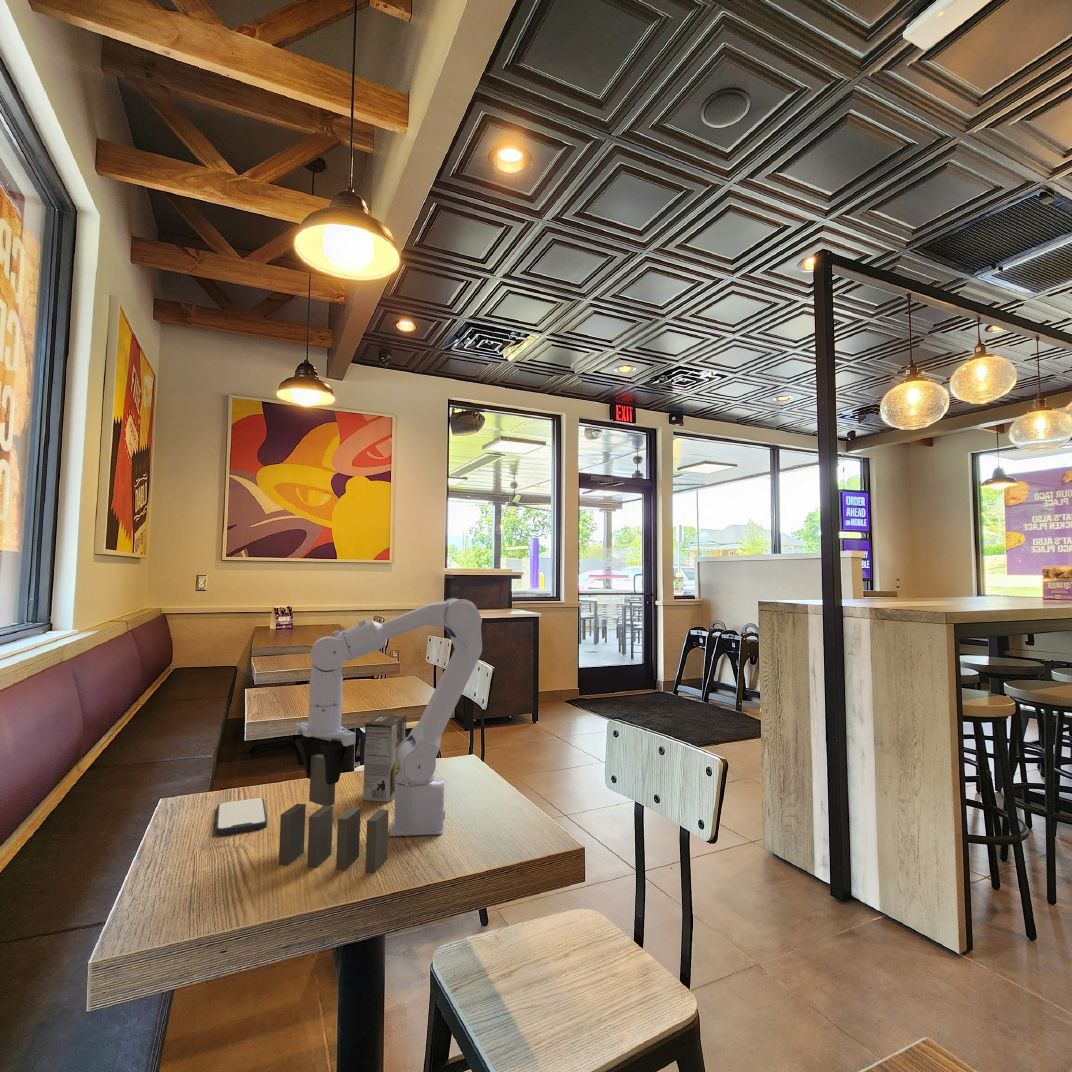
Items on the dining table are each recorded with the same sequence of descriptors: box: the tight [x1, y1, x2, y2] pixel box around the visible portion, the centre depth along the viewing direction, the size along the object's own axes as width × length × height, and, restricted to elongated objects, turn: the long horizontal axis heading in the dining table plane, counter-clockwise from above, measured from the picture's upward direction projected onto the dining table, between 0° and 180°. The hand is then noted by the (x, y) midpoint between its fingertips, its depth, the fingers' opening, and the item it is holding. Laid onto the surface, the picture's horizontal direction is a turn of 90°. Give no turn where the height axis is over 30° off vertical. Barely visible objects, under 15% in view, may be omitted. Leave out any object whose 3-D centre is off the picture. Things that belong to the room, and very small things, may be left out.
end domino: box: [308, 754, 336, 807], centre depth 108 cm, size 2×5×8 cm, turn 57°
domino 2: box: [306, 805, 334, 869], centre depth 99 cm, size 2×5×8 cm, turn 171°
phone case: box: [214, 797, 268, 837], centre depth 117 cm, size 9×2×16 cm
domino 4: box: [364, 808, 389, 874], centre depth 98 cm, size 2×5×8 cm, turn 171°
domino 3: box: [335, 806, 361, 872], centre depth 99 cm, size 2×5×8 cm, turn 171°
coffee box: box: [362, 714, 407, 803], centre depth 131 cm, size 9×6×16 cm
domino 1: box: [278, 803, 307, 867], centre depth 100 cm, size 2×5×8 cm, turn 171°
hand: (322, 780), depth 108 cm, fingers closed on end domino, 5 cm apart
